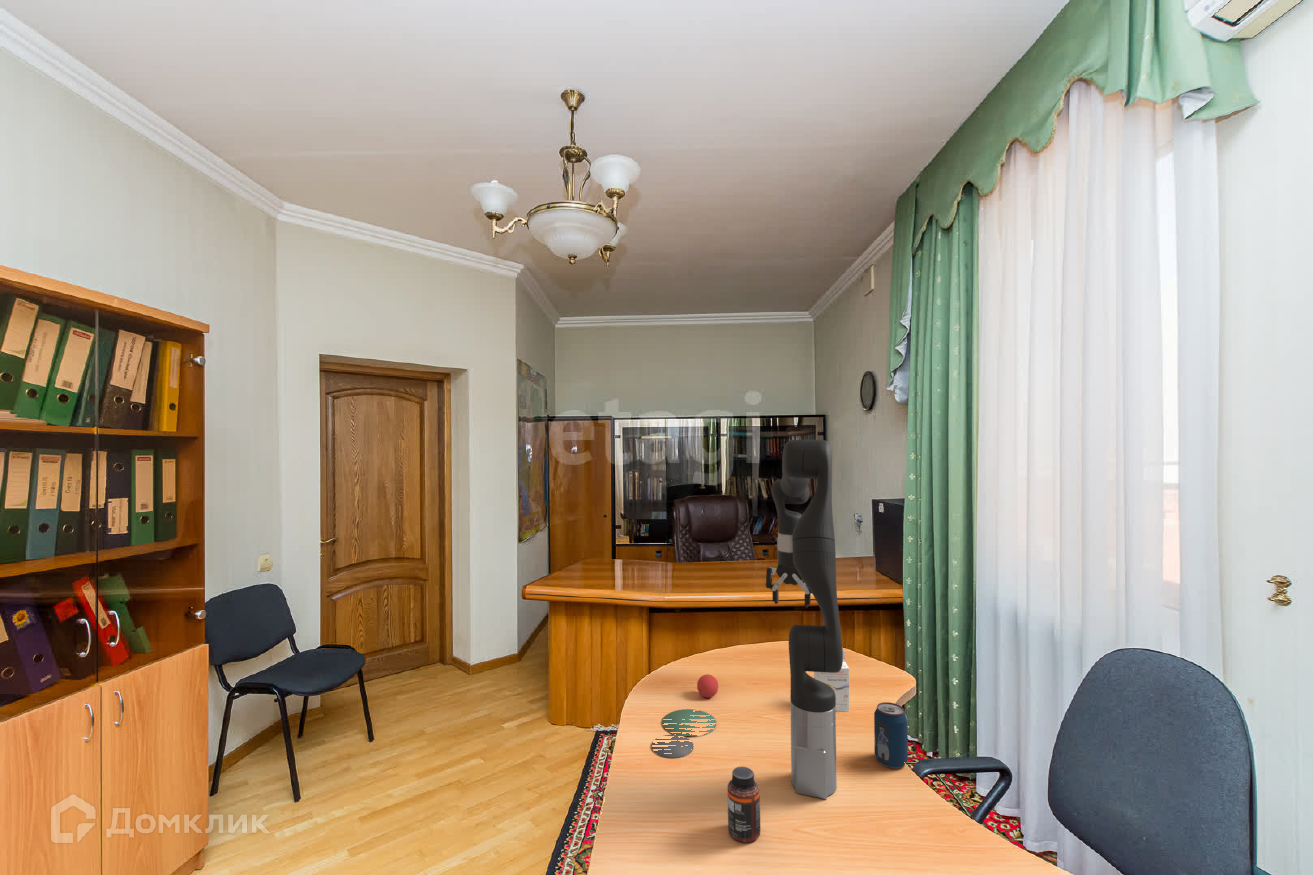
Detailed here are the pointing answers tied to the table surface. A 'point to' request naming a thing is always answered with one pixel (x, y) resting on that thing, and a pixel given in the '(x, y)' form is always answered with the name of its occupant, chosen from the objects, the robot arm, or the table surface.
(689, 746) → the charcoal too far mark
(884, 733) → the soda can
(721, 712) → the table surface
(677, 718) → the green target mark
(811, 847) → the table surface
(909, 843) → the table surface
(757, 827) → the supplement bottle
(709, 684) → the ball
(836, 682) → the ink cartridge box
